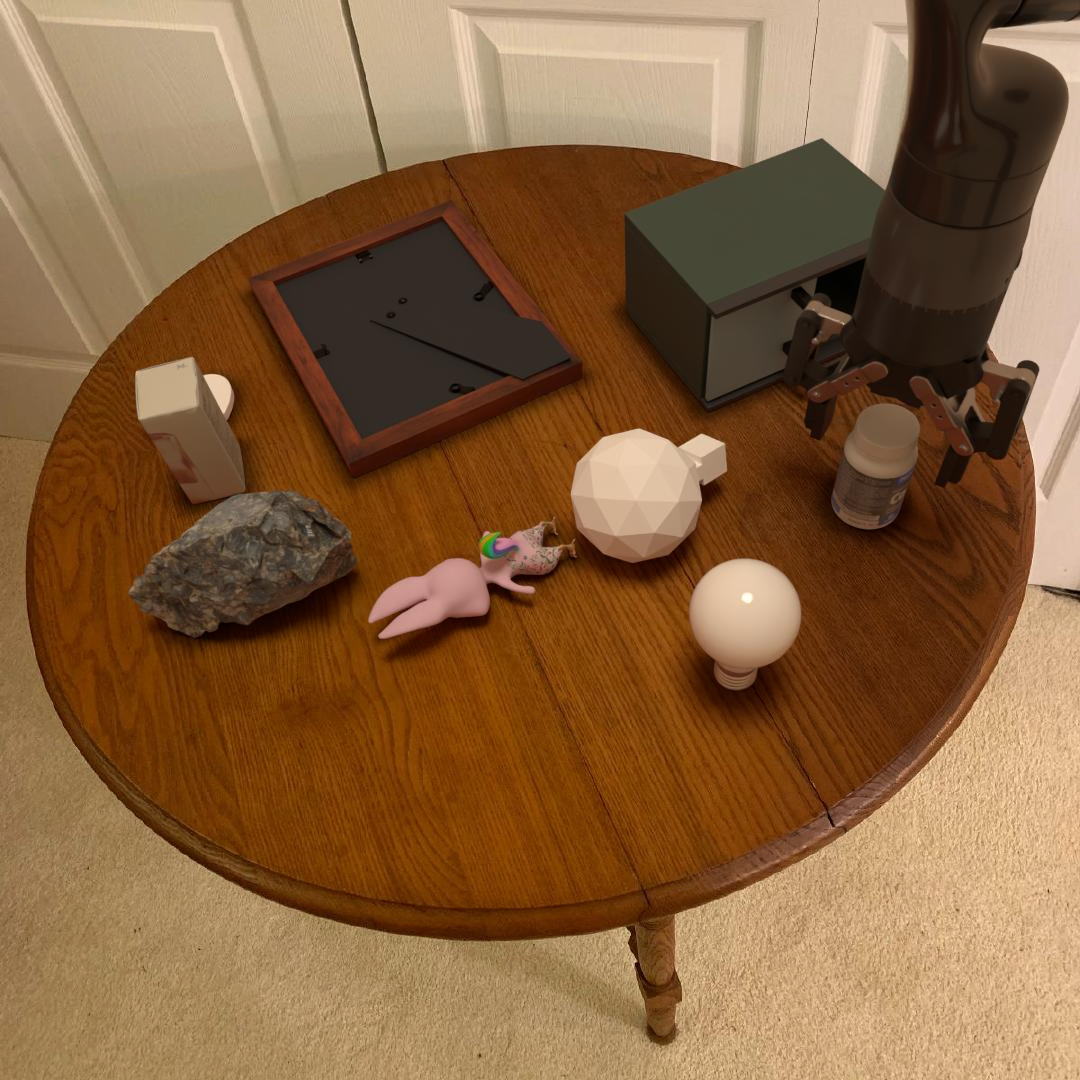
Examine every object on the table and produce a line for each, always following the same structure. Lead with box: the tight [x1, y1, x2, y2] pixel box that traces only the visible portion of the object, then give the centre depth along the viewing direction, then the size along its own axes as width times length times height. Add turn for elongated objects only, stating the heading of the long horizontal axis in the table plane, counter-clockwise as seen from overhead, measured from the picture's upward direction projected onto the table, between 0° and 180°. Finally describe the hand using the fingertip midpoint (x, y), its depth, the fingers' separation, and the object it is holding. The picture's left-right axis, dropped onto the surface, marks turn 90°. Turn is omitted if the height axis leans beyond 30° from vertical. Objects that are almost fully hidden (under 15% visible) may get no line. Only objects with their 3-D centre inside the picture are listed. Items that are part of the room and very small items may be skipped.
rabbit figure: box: [367, 515, 578, 640], centre depth 67 cm, size 6×6×15 cm
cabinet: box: [623, 137, 886, 413], centre depth 78 cm, size 13×18×10 cm
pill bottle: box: [830, 403, 921, 530], centre depth 67 cm, size 5×5×8 cm
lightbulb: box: [688, 557, 802, 692], centre depth 59 cm, size 6×6×11 cm
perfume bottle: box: [570, 428, 728, 564], centre depth 68 cm, size 9×9×12 cm
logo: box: [203, 373, 235, 421], centre depth 82 cm, size 6×1×8 cm
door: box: [705, 278, 817, 401], centre depth 73 cm, size 4×9×8 cm, turn 116°
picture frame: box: [247, 199, 584, 479], centre depth 84 cm, size 20×2×25 cm
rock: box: [127, 489, 358, 639], centre depth 66 cm, size 14×10×10 cm
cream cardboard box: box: [134, 356, 247, 505], centre depth 73 cm, size 5×4×10 cm
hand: (881, 454), depth 67 cm, fingers open, 8 cm apart
